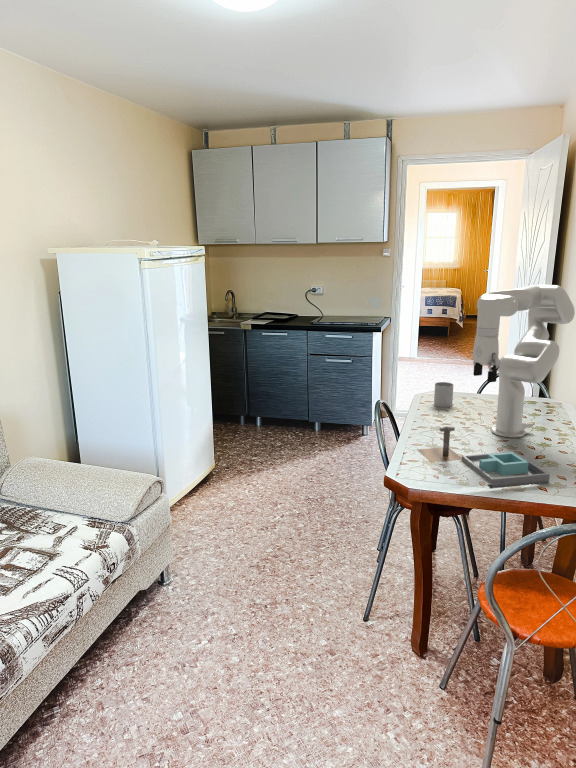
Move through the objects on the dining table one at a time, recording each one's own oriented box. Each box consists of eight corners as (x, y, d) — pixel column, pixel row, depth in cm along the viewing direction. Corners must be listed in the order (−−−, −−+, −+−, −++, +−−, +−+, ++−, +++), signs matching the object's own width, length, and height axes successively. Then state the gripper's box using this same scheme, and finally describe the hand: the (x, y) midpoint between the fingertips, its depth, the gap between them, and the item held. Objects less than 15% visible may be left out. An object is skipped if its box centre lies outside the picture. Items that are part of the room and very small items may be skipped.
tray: (513, 459, 185) (514, 451, 184) (548, 482, 166) (549, 474, 165) (461, 463, 182) (461, 455, 181) (491, 488, 163) (492, 479, 163)
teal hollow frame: (473, 468, 177) (474, 455, 176) (511, 464, 179) (512, 452, 178) (487, 479, 168) (488, 466, 167) (527, 475, 171) (528, 462, 170)
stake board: (447, 450, 194) (449, 419, 191) (463, 463, 182) (465, 430, 179) (416, 453, 192) (418, 422, 189) (430, 466, 181) (432, 433, 178)
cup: (434, 406, 247) (435, 386, 244) (433, 401, 255) (434, 382, 252) (453, 407, 245) (454, 386, 243) (451, 402, 253) (452, 382, 251)
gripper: (465, 329, 195) (463, 373, 200) (491, 336, 179) (487, 385, 183) (484, 328, 196) (481, 372, 201) (511, 335, 180) (507, 383, 184)
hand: (484, 378), depth 192 cm, fingers open, 9 cm apart
